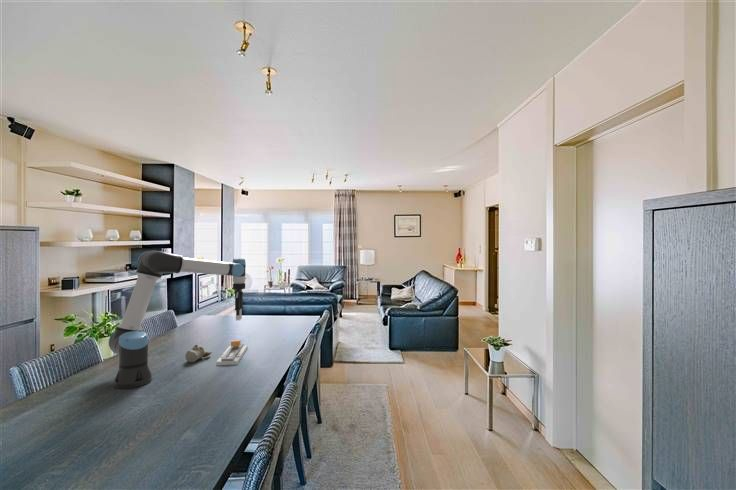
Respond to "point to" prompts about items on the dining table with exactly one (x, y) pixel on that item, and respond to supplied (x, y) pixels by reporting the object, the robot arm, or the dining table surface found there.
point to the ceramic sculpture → (196, 354)
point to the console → (232, 355)
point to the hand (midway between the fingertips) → (238, 319)
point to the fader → (235, 344)
